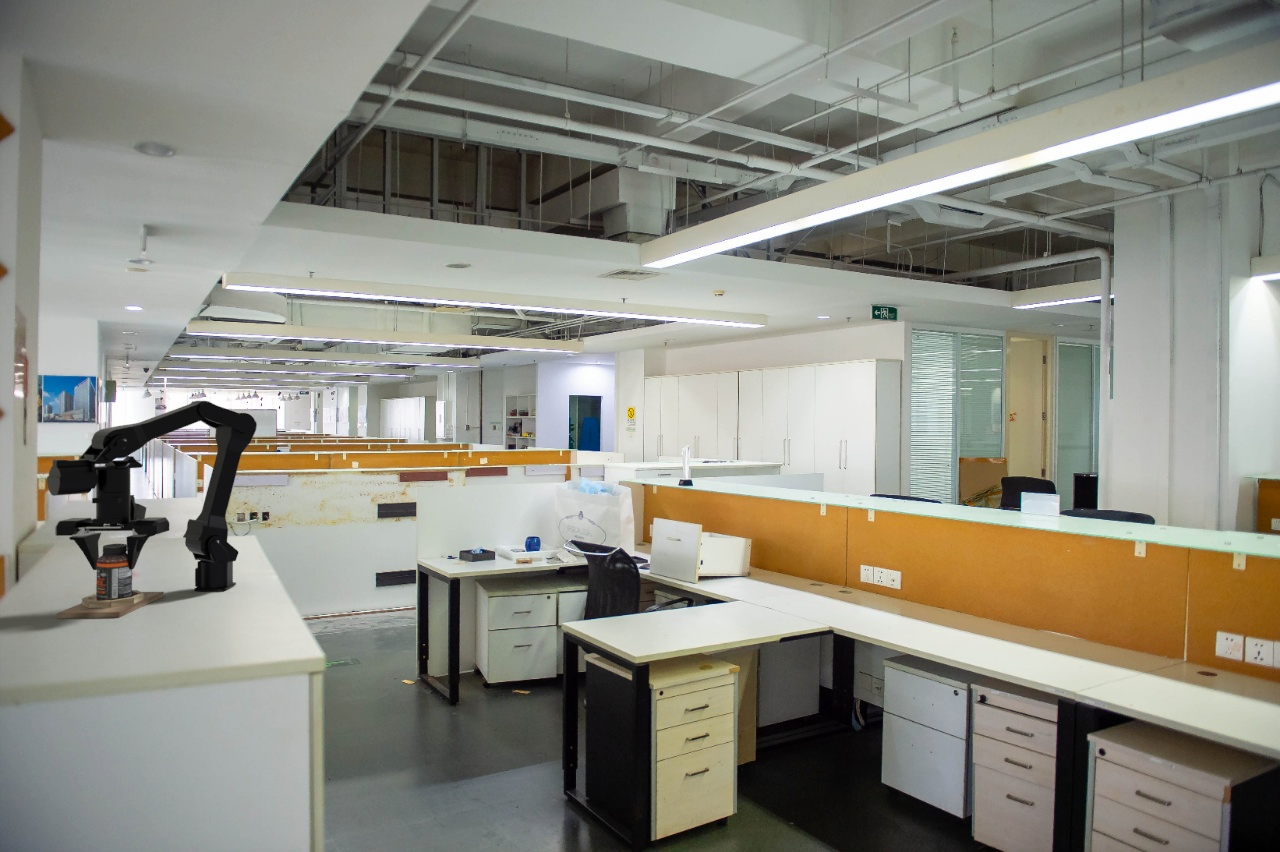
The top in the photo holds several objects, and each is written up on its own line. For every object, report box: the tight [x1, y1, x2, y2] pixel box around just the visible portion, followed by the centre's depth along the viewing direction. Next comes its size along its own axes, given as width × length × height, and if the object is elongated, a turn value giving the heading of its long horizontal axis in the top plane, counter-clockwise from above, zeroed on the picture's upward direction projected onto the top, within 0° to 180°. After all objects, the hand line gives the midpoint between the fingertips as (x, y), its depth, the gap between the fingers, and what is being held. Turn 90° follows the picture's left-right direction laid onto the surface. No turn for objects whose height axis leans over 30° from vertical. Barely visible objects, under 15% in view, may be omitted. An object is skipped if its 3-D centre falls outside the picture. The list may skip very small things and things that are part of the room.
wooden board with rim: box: [56, 589, 165, 619], centre depth 157 cm, size 11×17×2 cm, turn 6°
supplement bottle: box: [95, 543, 133, 601], centre depth 157 cm, size 6×6×11 cm
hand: (113, 569), depth 157 cm, fingers open, 6 cm apart
